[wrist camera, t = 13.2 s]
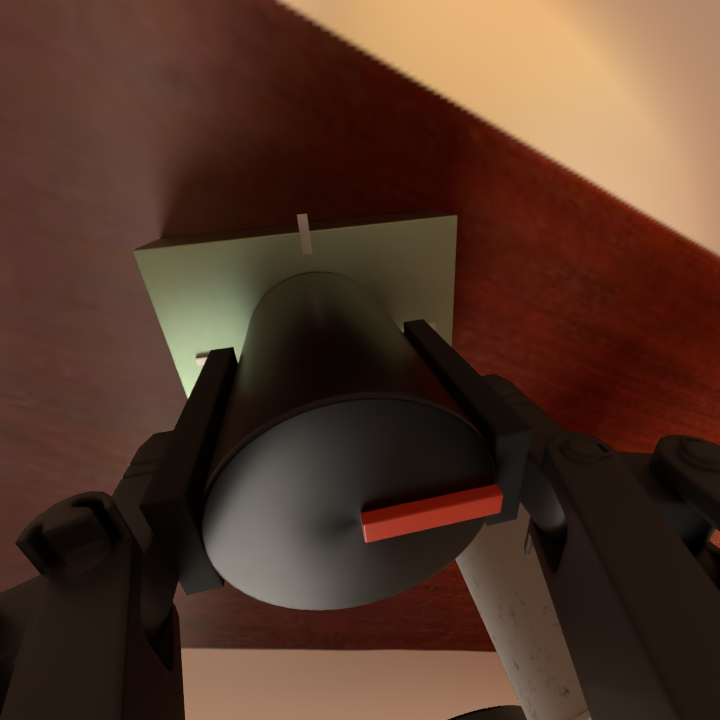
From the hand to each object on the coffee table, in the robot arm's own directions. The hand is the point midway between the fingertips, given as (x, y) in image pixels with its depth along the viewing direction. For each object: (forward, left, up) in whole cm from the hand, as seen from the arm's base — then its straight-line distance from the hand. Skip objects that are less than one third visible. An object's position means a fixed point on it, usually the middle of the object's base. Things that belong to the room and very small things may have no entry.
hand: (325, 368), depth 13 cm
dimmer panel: (0, 0, -5) cm, 5 cm away
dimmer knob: (0, 0, -2) cm, 2 cm away
